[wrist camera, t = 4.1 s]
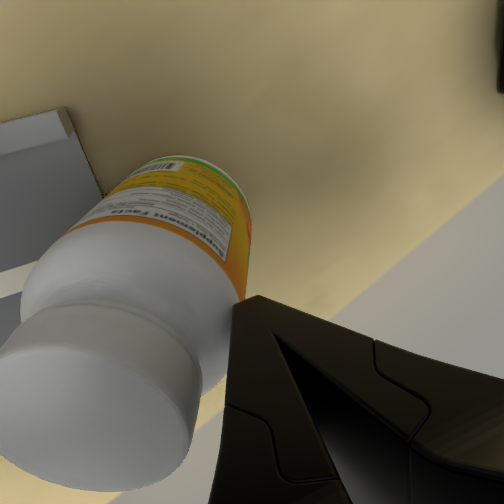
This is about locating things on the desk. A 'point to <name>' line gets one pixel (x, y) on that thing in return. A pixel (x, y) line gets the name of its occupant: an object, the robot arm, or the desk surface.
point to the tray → (37, 198)
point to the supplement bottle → (126, 329)
